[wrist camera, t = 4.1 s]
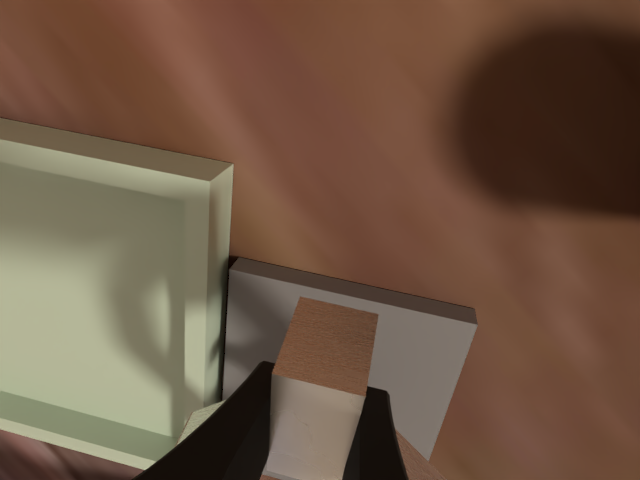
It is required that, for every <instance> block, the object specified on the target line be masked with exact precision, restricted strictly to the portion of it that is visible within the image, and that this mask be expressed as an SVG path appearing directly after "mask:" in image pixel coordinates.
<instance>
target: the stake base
mask: <svg viewBox="0 0 640 480" xmlns="http://www.w3.org/2000/svg"><path fill="white" fill-rule="evenodd" d="M300 296H301V297H305V298H310V299H314V300H318V301H323V302H327V303H332V304H336V305H340V306H345V307H349V308H354V309H358V310H363V311H367V312H371V313H376V314H379V315H378V322H377V328H376V334H375V340H374V347H373V353H372V359H371V366H370V372H369V378H368V384H367V386H370V387H374V388H378V389H382V390H386V391H387V392H388V394H389V395H390V404H391V411H392V417H393V422H394V427H395V429H396V430H397V431H398V432H399V433H400V434H401V435H402V436H403V437H404V438H405V439H406V440H407V441H408V442H409V443H410V444H411V445H412V446H413V447H414V448H415V449H416V450H417V451H418V452H419V453H420V454H421V455H422V456H423V457H424V458H425V459H426V460H427V461H429V458H430V455H431V453H432V450H433V447H434V444H435V441H436V439H437V436H438V433H439V430H440V428H441V425H442V422H443V419H444V417H445V414H446V411H447V408H448V406H449V403H450V400H451V397H452V395H453V392H454V389H455V386H456V383H457V381H458V378H459V375H460V372H461V370H462V367H463V364H464V361H465V359H466V356H467V353H468V350H469V348H470V345H471V342H472V339H473V336H474V334H475V331H476V328H477V325H478V324H477V319H476V314H475V309H472V308H468V307H463V306H458V305H454V304H449V303H445V302H440V301H436V300H431V299H427V298H422V297H418V296H413V295H409V294H404V293H399V292H395V291H390V290H386V289H381V288H377V287H372V286H368V285H363V284H359V283H354V282H350V281H345V280H340V279H336V278H331V277H327V276H322V275H318V274H313V273H309V272H304V271H300V270H295V269H291V268H286V267H281V266H277V265H272V264H268V263H263V262H259V261H254V260H250V259H245V258H241V257H239V258H238V259H237V260H236V262H235V263H234V264H233V265H232V267H231V268H230V270H229V288H228V307H227V325H226V344H225V362H224V381H223V399H222V401H224V400H227V399H228V398H229V397H230V396H231V395H232V394H233V393H234V392H235V390H236V389H237V388H238V387H239V386H240V385H241V384H242V383H243V382H244V381H245V380H246V378H247V377H248V376H249V375H250V374H251V373H252V371H253V370H254V369H255V368H256V366H257V365H258V364H259V363H260V362H262V361H268V362H272V363H276V361H277V358H278V355H279V353H280V350H281V347H282V344H283V342H284V339H285V336H286V333H287V331H288V328H289V325H290V323H291V320H292V317H293V314H294V312H295V309H296V306H297V303H298V301H299V298H300ZM262 474H264V475H267V476H271V477H274V478H278V479H282V480H299V479H296V478H292V477H288V476H285V475H281V474H277V473H274V472H270V471H267V462H266V465H265V467H264V470H263V472H262Z"/></svg>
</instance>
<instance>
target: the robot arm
mask: <svg viewBox="0 0 640 480" xmlns="http://www.w3.org/2000/svg"><path fill="white" fill-rule="evenodd" d="M274 366H275V363H272V362H268V361H262V362H260V363H259V364H258V365H257V366H256V368H255V369H254V370H253V371H252V373H251V374H250V375H249V376H248V377H247V378H246V380H245V381H244V382H243V383H242V384H241V385H240V386H239V387H238V388H237V389H236V390H235V392H234V393H233V394H232V395H231V396H230V397H229V398H228V399H227V400H226V401H225V402H224V403H223V404H222V405H221V406H220V407H219V408H218V409H217V410H216V411H215V412H214V413H213V414H212V415H211V416H210V417H209V418H207V419H206V420H205V421H204V422H203V423H202V424H201V425H200V426H199V427H197V428H196V429H195V430H194V431H193V432H192V433H191V434H190V435H188V436H187V437H186V438H185V439H184V440H183V441H182V442H180V443H179V444H178V445H177V446H176V447H174V448H173V449H172V450H171V451H169V452H168V453H167V454H166V455H164V456H163V457H162V458H161V459H159V460H158V461H157V462H155V463H154V464H153V465H151V466H150V467H149V468H147V469H146V470H145V471H143V472H142V473H141V474H139V475H138V476H136V477H135V478H133V479H132V480H259V479H260V477H261V474H262V472H263V470H264V467H265V465H266V462H267V460H268V456H269V443H270V408H271V379H272V372H273V369H274ZM342 480H409V478H408V475H407V472H406V469H405V465H404V462H403V458H402V455H401V451H400V448H399V444H398V440H397V435H396V431H395V427H394V422H393V417H392V411H391V404H390V395H389V394H388V392H387V391H386V390H382V389H378V388H374V387H370V386H367V391H366V397H365V401H364V404H363V408H362V412H361V416H360V419H359V422H358V425H357V428H356V432H355V435H354V438H353V442H352V445H351V448H350V452H349V455H348V458H347V462H346V465H345V469H344V473H343V477H342Z"/></svg>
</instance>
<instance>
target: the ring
mask: <svg viewBox="0 0 640 480" xmlns="http://www.w3.org/2000/svg"><path fill="white" fill-rule="evenodd" d="M378 315H379V314H376V313H371V312H367V311H363V310H358V309H354V308H349V307H345V306H340V305H336V304H332V303H327V302H323V301H318V300H314V299H310V298H305V297H301V296H300V298H299V301H298V303H297V306H296V309H295V312H294V314H293V317H292V320H291V323H290V325H289V328H288V331H287V333H286V336H285V339H284V342H283V344H282V347H281V350H280V353H279V355H278V358H277V361H276V363H275V366H274V369H273V372H272V379H271V408H270V443H269V456H268V460H267V471H270V472H274V473H277V474H281V475H285V476H288V477H292V478H296V479H299V480H342V477H343V473H344V469H345V465H346V462H347V458H348V455H349V452H350V448H351V445H352V442H353V438H354V435H355V432H356V428H357V425H358V422H359V419H360V416H361V412H362V408H363V404H364V401H365V397H366V391H367V384H368V378H369V372H370V366H371V359H372V353H373V347H374V340H375V334H376V328H377V322H378ZM225 401H226V400H224V401H222V402H219V403H216V404H213V405H210V406H208V407H205V408H202V409H199V410H197V411H194V412H192V413H191V415H190V417H189V419H188V421H187V423H186V425H185V427H184V429H183V431H182V433H181V435H180V437H179V439H178V441H177V443H176V445H175V447H176V446H177V445H178V444H179V443H180V442H182V441H183V440H184V439H185V438H186V437H187V436H188V435H190V434H191V433H192V432H193V431H194V430H195V429H196V428H197V427H199V426H200V425H201V424H202V423H203V422H204V421H205V420H206V419H207V418H209V417H210V416H211V415H212V414H213V413H214V412H215V411H216V410H217V409H218V408H219V407H220V406H221V405H222V404H223V403H224V402H225ZM395 431H396V435H397V440H398V444H399V448H400V451H401V455H402V458H403V462H404V465H405V469H406V472H407V475H408V478H409V480H446V478H444V477H443V476H442V475H441V474H440V473H439V472H438V471H437V470H436V469H435V468H434V467H433V466H432V465H431V464H430V463H429V462H428V461H427V460H426V459H425V458H424V457H423V456H422V455H421V454H420V453H419V452H418V451H417V450H416V449H415V448H414V447H413V446H412V445H411V444H410V443H409V442H408V441H407V440H406V439H405V438H404V437H403V436H402V435H401V434H400V433H399V432H398V431H397V430H396V429H395Z"/></svg>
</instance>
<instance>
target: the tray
mask: <svg viewBox="0 0 640 480" xmlns="http://www.w3.org/2000/svg"><path fill="white" fill-rule="evenodd" d="M233 165H234V164H233V163H228V162H223V161H217V160H212V159H207V158H202V157H197V156H192V155H187V154H182V153H177V152H172V151H167V150H162V149H156V148H151V147H146V146H141V145H136V144H131V143H126V142H121V141H116V140H111V139H106V138H100V137H95V136H90V135H85V134H80V133H75V132H70V131H65V130H60V129H55V128H50V127H44V126H39V125H34V124H29V123H24V122H19V121H14V120H9V119H4V118H0V429H2V430H5V431H9V432H12V433H16V434H19V435H23V436H26V437H30V438H33V439H37V440H41V441H44V442H48V443H51V444H55V445H58V446H62V447H65V448H69V449H72V450H76V451H80V452H83V453H87V454H90V455H94V456H97V457H101V458H104V459H108V460H111V461H115V462H119V463H122V464H126V465H129V466H133V467H136V468H140V469H143V470H146V469H147V468H149V467H150V466H151V465H153V464H154V463H155V462H157V461H158V460H159V459H161V458H162V457H163V456H164V455H166V454H167V453H168V452H169V451H171V450H172V449H173V448H174V447H175V445H176V443H177V441H178V439H179V437H180V435H181V433H182V431H183V429H184V427H185V425H186V423H187V421H188V419H189V417H190V415H191V413H192V412H194V411H197V410H199V409H202V408H205V407H208V406H210V405H213V404H216V403H219V402H221V394H222V375H223V356H224V337H225V318H226V299H227V280H228V260H229V241H230V222H231V203H232V184H233Z"/></svg>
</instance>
